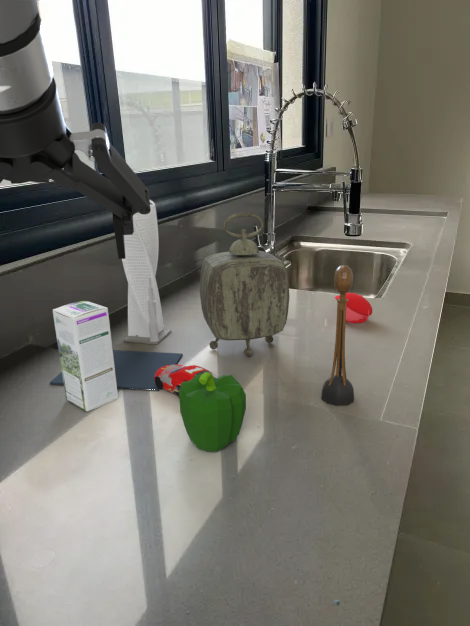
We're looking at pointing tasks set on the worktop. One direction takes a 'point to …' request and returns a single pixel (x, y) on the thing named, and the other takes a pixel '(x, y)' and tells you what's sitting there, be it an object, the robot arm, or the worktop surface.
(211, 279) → the tabletop clock
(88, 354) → the syrup box
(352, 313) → the cap
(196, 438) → the bell pepper
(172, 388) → the race car
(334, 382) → the wooden tabletop sculpture
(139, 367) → the mat
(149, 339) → the skyscraper
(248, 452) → the worktop surface
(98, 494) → the worktop surface
